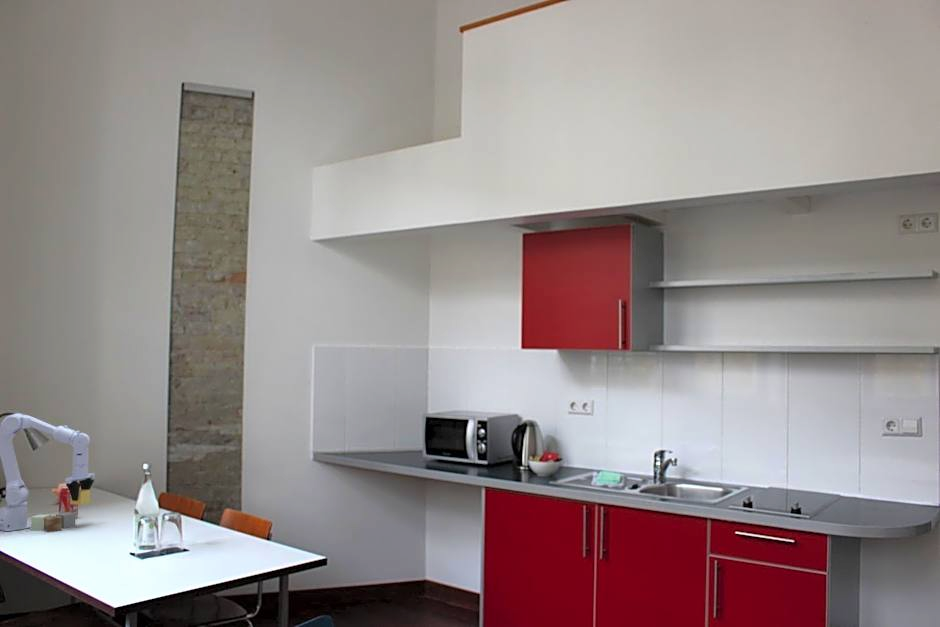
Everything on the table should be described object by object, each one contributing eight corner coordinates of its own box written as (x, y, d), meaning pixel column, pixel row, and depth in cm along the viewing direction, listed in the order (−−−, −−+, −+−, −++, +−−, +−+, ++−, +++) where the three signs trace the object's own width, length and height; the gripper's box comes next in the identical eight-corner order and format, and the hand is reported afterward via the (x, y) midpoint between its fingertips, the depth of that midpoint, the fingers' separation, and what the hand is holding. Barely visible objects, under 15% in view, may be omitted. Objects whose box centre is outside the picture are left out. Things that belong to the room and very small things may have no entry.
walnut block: (47, 532, 333) (47, 519, 333) (44, 530, 337) (44, 517, 337) (61, 531, 336) (61, 517, 336) (58, 528, 340) (59, 515, 340)
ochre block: (81, 504, 342) (81, 491, 342) (70, 504, 343) (70, 491, 343) (89, 502, 347) (90, 489, 347) (78, 501, 348) (79, 489, 348)
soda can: (81, 516, 362) (81, 485, 363) (71, 520, 355) (72, 488, 356) (64, 516, 363) (65, 484, 363) (55, 520, 356) (55, 487, 356)
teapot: (51, 505, 386) (51, 483, 387) (60, 500, 398) (60, 479, 399) (78, 505, 388) (79, 483, 388) (87, 500, 400) (87, 478, 400)
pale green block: (43, 530, 337) (44, 517, 337) (31, 530, 337) (31, 517, 337) (50, 527, 342) (50, 514, 342) (37, 527, 342) (38, 514, 342)
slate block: (63, 528, 340) (64, 515, 340) (55, 527, 343) (55, 514, 343) (75, 526, 345) (75, 513, 345) (67, 524, 347) (67, 512, 347)
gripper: (76, 467, 337) (75, 503, 337) (101, 462, 351) (100, 496, 351) (60, 466, 339) (60, 502, 339) (86, 461, 353) (85, 495, 353)
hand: (79, 499), depth 345 cm, fingers closed on ochre block, 5 cm apart
